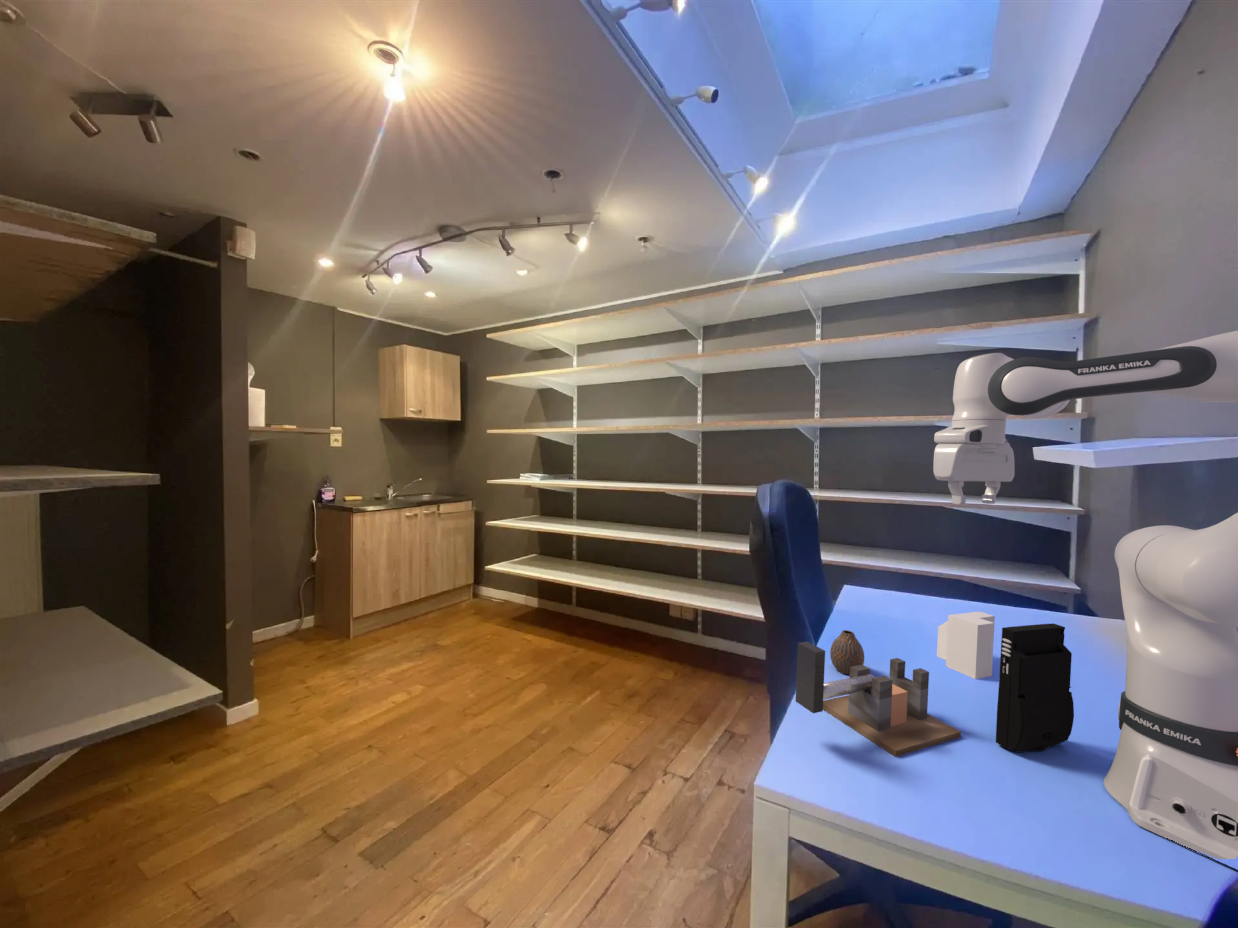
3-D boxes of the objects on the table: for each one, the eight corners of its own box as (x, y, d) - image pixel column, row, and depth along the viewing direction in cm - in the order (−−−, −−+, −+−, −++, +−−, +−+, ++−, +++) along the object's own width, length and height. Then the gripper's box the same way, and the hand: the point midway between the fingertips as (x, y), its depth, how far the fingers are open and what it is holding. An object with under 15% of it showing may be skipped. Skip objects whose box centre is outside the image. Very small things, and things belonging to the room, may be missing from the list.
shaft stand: (960, 737, 83) (963, 682, 83) (895, 756, 77) (898, 698, 77) (879, 693, 98) (881, 646, 98) (819, 706, 92) (821, 657, 92)
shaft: (880, 697, 84) (883, 640, 84) (813, 713, 78) (815, 652, 78) (861, 687, 88) (863, 632, 87) (795, 701, 82) (797, 642, 81)
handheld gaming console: (1044, 734, 85) (1050, 621, 84) (1074, 750, 80) (1081, 631, 80) (991, 743, 82) (997, 626, 81) (1020, 760, 77) (1026, 636, 77)
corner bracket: (975, 679, 106) (977, 625, 105) (926, 657, 116) (929, 608, 116) (1007, 673, 109) (1010, 620, 109) (957, 653, 120) (960, 605, 120)
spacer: (906, 722, 86) (907, 691, 85) (890, 726, 84) (892, 695, 84) (879, 706, 91) (880, 677, 90) (864, 710, 89) (865, 681, 89)
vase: (831, 674, 106) (833, 635, 105) (827, 661, 112) (829, 624, 112) (866, 680, 104) (868, 639, 103) (860, 666, 110) (862, 628, 110)
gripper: (992, 438, 104) (989, 501, 105) (928, 433, 97) (924, 502, 97) (1026, 437, 99) (1022, 504, 99) (960, 433, 91) (957, 506, 91)
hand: (973, 503), depth 98 cm, fingers open, 8 cm apart
